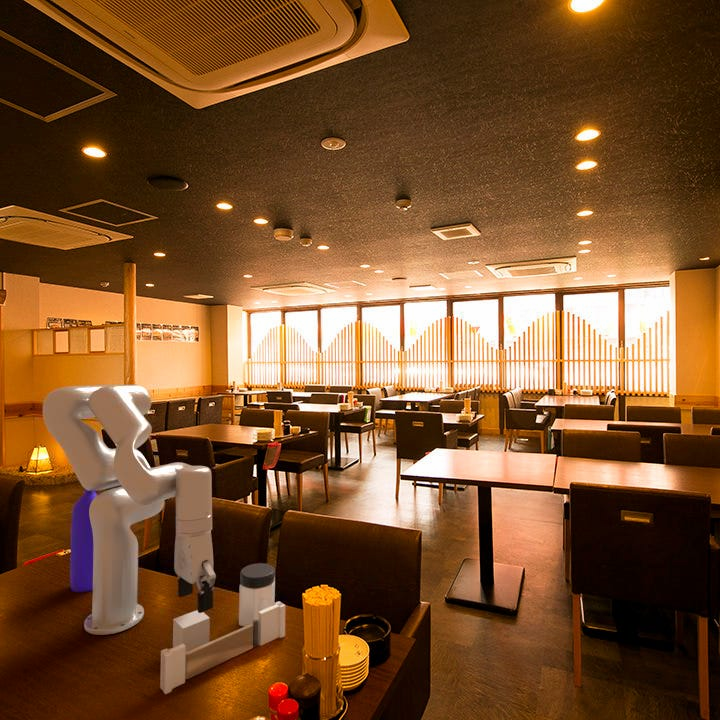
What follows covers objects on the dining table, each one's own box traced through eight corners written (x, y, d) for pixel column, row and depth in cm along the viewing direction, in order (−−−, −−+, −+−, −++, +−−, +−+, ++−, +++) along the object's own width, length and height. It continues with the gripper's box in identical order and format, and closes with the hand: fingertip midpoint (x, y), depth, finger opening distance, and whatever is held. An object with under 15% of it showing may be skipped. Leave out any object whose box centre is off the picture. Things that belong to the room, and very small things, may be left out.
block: (172, 646, 100) (173, 619, 100) (199, 635, 104) (199, 609, 104) (182, 657, 96) (183, 628, 97) (209, 645, 101) (209, 617, 101)
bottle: (84, 577, 132) (87, 473, 132) (111, 580, 130) (113, 474, 131) (62, 591, 123) (64, 480, 124) (90, 594, 122) (92, 481, 123)
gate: (184, 676, 90) (185, 650, 90) (256, 642, 101) (256, 619, 101) (187, 679, 89) (188, 652, 89) (259, 645, 100) (259, 621, 100)
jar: (244, 633, 105) (245, 581, 105) (233, 617, 112) (234, 568, 112) (281, 622, 110) (281, 572, 110) (268, 607, 117) (268, 560, 117)
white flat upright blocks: (160, 687, 87) (161, 650, 87) (278, 631, 106) (279, 601, 106) (165, 694, 85) (166, 656, 85) (284, 636, 104) (285, 605, 104)
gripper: (161, 519, 104) (162, 595, 104) (195, 537, 92) (196, 624, 91) (193, 512, 109) (194, 584, 109) (229, 528, 97) (230, 610, 97)
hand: (195, 602), depth 100 cm, fingers open, 9 cm apart
